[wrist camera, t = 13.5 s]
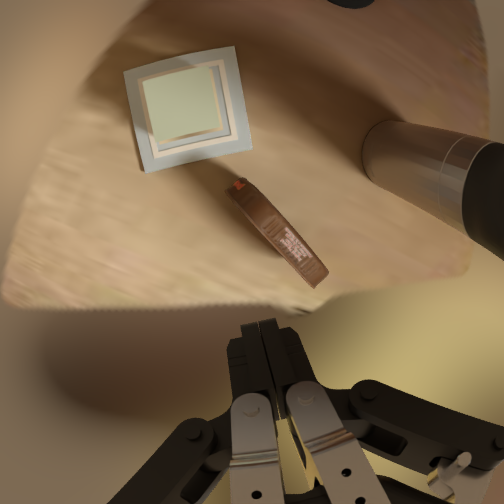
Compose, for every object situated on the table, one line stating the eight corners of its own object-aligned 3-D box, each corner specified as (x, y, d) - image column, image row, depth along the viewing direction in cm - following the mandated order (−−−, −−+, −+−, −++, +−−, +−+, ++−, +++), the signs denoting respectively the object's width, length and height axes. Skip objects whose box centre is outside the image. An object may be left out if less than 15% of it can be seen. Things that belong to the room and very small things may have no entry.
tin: (220, 184, 33) (225, 206, 25) (241, 165, 32) (253, 182, 25) (297, 267, 39) (319, 304, 32) (315, 252, 39) (341, 286, 31)
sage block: (207, 74, 23) (208, 65, 18) (217, 125, 25) (220, 126, 21) (152, 87, 22) (142, 81, 18) (163, 137, 25) (155, 142, 20)
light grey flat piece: (233, 47, 26) (234, 45, 25) (252, 148, 31) (253, 149, 31) (124, 72, 25) (122, 71, 24) (146, 172, 31) (145, 174, 30)
